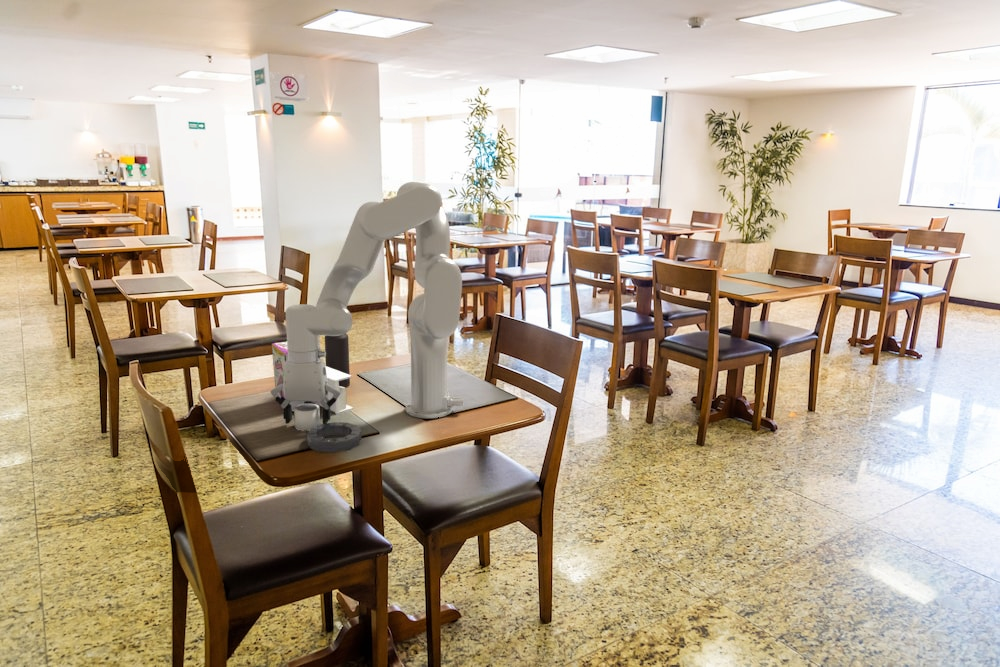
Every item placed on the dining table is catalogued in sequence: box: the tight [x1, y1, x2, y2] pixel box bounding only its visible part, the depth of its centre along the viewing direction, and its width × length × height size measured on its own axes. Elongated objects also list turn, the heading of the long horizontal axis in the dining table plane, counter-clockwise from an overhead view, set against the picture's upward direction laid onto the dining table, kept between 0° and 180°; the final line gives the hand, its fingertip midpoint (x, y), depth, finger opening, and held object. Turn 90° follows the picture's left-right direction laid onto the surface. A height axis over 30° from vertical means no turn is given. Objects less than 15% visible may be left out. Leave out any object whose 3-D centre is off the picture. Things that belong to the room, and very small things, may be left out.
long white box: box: [309, 365, 354, 415], centre depth 183 cm, size 20×6×9 cm, turn 48°
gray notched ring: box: [306, 421, 362, 453], centre depth 158 cm, size 12×12×2 cm
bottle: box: [324, 333, 351, 388], centre depth 195 cm, size 7×7×20 cm
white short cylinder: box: [293, 403, 321, 430], centre depth 166 cm, size 6×6×5 cm
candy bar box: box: [271, 341, 306, 410], centre depth 179 cm, size 11×5×16 cm, turn 35°
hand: (307, 422), depth 166 cm, fingers open, 8 cm apart
